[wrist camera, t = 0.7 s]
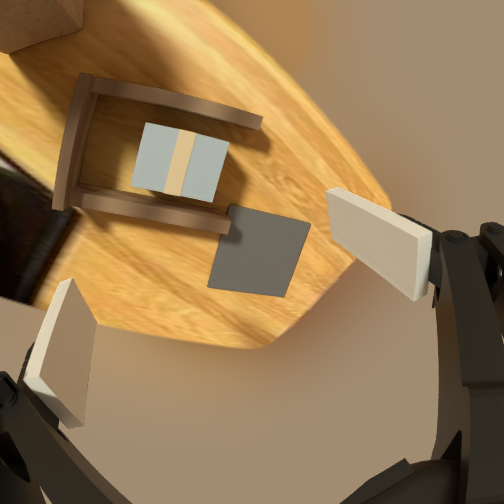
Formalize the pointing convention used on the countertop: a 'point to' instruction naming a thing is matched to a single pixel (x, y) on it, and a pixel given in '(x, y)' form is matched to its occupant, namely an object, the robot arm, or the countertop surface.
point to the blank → (179, 162)
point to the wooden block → (37, 21)
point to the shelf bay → (121, 201)
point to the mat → (257, 252)
